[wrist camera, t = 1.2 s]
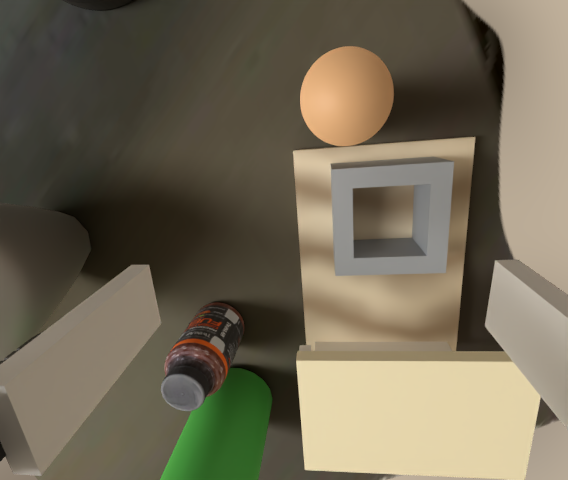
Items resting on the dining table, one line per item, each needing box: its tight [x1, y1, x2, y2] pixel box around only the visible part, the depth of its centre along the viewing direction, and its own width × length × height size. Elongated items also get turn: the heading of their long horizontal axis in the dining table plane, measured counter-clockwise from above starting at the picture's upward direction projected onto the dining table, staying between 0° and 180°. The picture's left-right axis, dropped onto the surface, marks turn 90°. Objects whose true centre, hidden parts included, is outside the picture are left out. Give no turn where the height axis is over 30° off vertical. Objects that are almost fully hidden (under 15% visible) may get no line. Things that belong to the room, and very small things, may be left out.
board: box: [293, 137, 475, 351], centre depth 34 cm, size 22×16×1 cm
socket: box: [330, 156, 454, 276], centre depth 30 cm, size 9×9×5 cm
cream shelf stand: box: [296, 342, 541, 480], centre depth 29 cm, size 10×15×14 cm, turn 94°
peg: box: [300, 46, 394, 146], centre depth 24 cm, size 4×4×16 cm
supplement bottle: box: [161, 302, 244, 411], centre depth 34 cm, size 6×6×11 cm
